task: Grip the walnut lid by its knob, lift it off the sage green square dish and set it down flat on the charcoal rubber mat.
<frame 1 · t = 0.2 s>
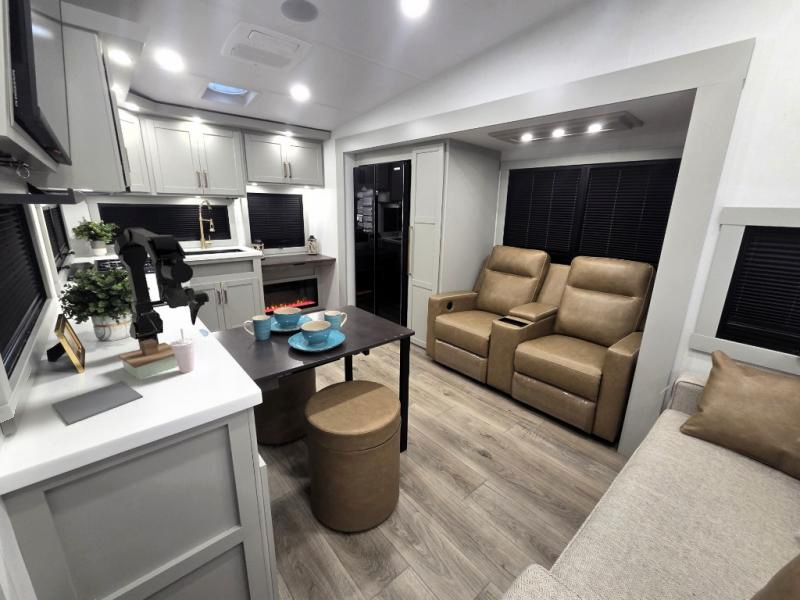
hand: (176, 328, 104), 14 cm above the counter, tool pointing down, fingers open, 9 cm apart
lid: (151, 355, 109), point 4 cm above the counter
smoothie: (187, 371, 107), on the counter
dish: (153, 368, 110), on the counter
mat: (98, 401, 90), on the counter
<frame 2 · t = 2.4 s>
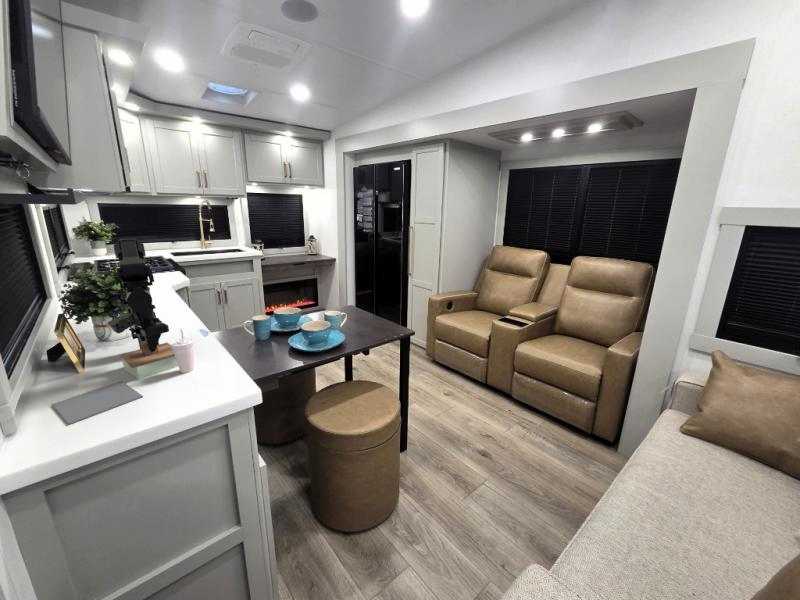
hand: (150, 350, 108), 6 cm above the counter, tool pointing down, fingers closed on lid, 4 cm apart
lid: (151, 355, 109), point 4 cm above the counter, touching dish, gripper
dish: (154, 368, 110), on the counter, touching lid
everything else where it was.
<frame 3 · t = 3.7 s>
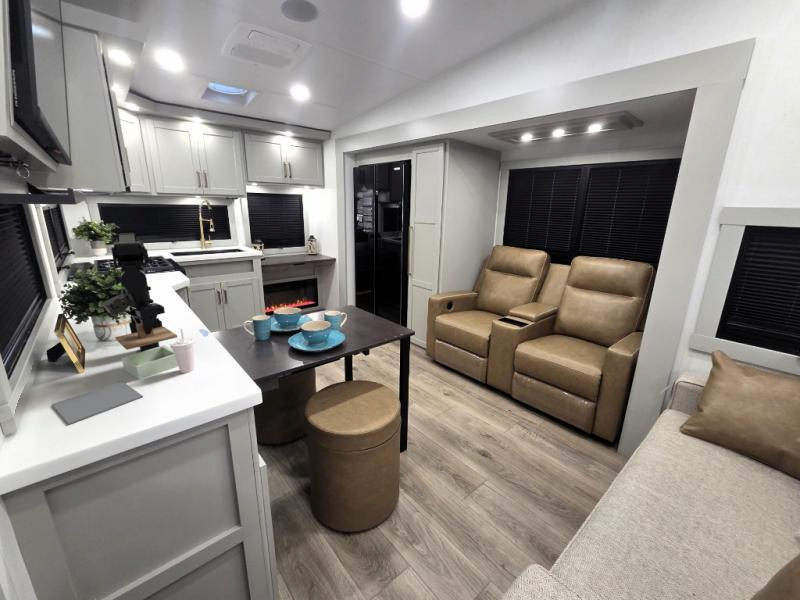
hand: (145, 332, 106), 12 cm above the counter, tool pointing down, fingers closed on lid, 4 cm apart
lid: (146, 338, 107), point 10 cm above the counter, touching gripper
dish: (153, 368, 110), on the counter
everything else where it was.
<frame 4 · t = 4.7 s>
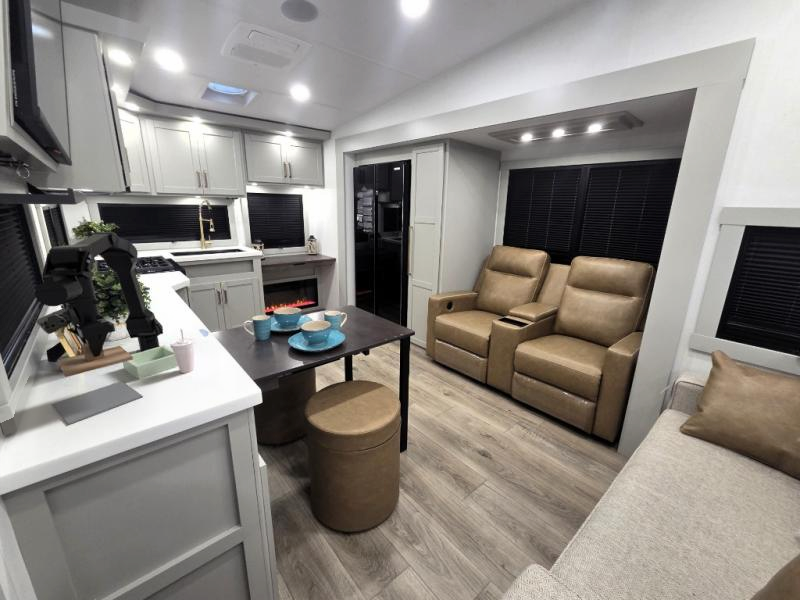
hand: (94, 354, 89), 13 cm above the counter, tool pointing down, fingers closed on lid, 4 cm apart
lid: (95, 361, 89), point 11 cm above the counter, touching gripper
everything else where it was.
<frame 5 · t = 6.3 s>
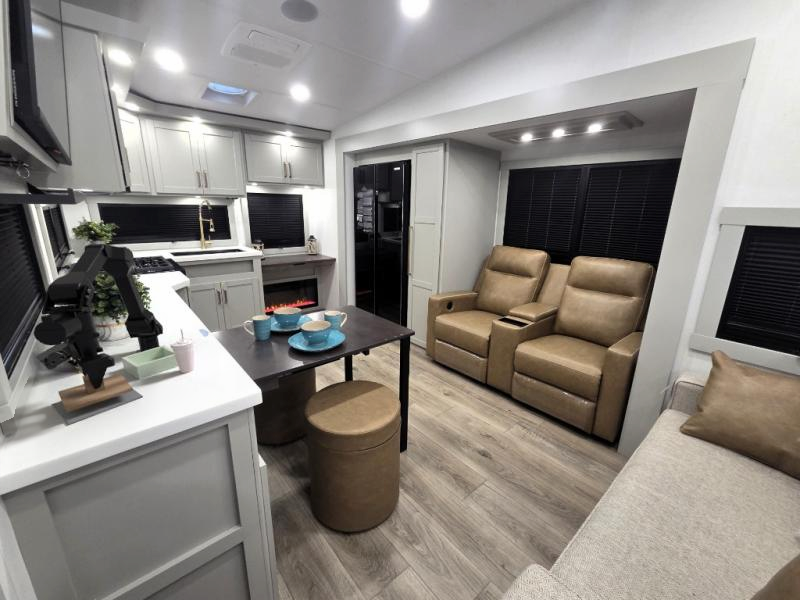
hand: (94, 386, 89), 4 cm above the counter, tool pointing down, fingers closed on lid, 4 cm apart
lid: (96, 392, 89), point 3 cm above the counter, touching gripper
everything else where it was.
when the fingers open (3 cm above the counter, at t = 7.2 s): lid drops 1 cm, resting on mat.
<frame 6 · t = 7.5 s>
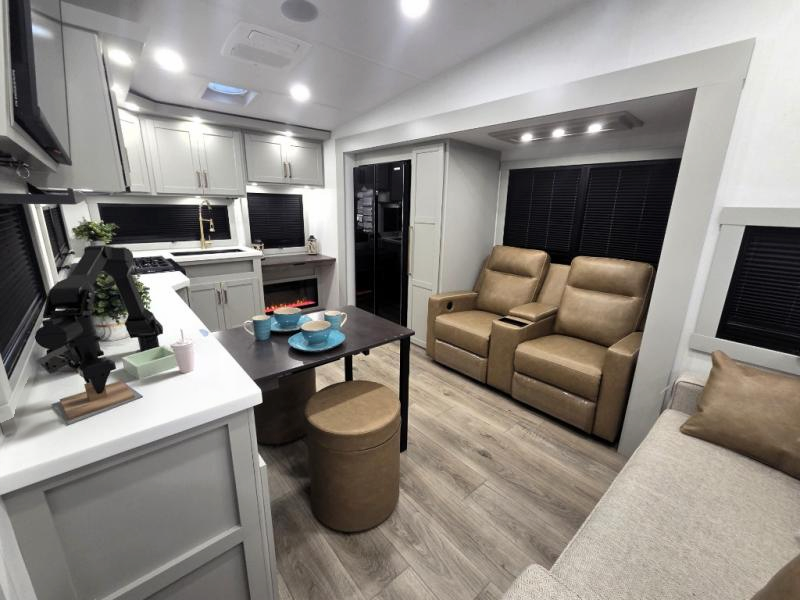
hand: (95, 389, 89), 3 cm above the counter, tool pointing down, fingers open, 6 cm apart
lid: (98, 399, 90), resting on mat
everything else where it was.
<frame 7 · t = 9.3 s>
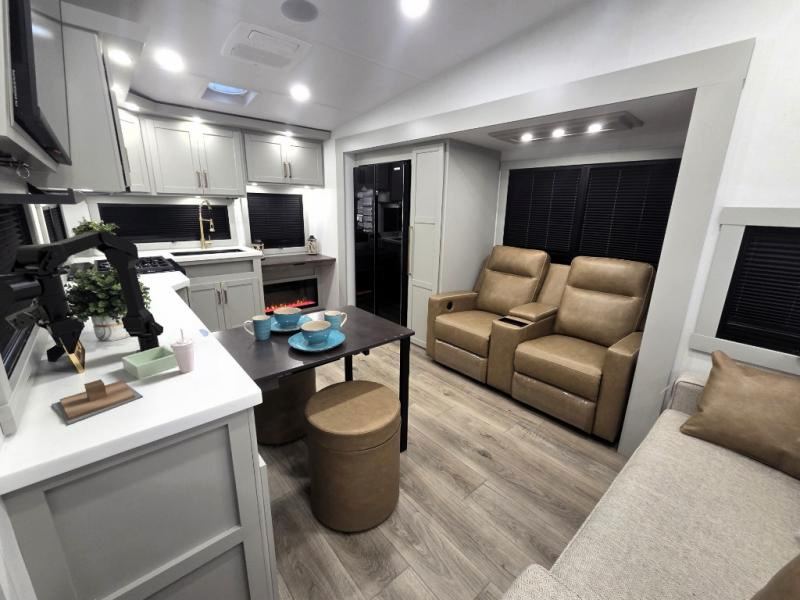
hand: (65, 350, 91), 13 cm above the counter, tool pointing down, fingers open, 9 cm apart
nothing on the counter moved.
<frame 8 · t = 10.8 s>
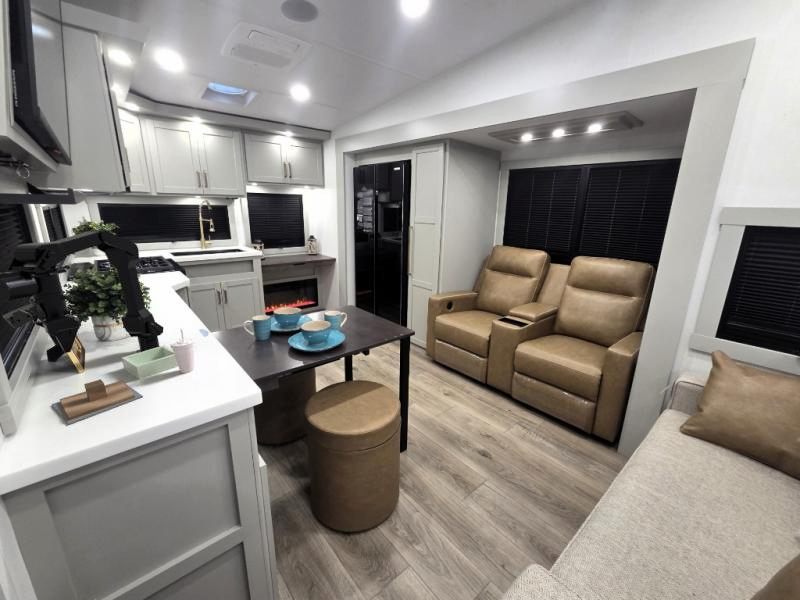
hand: (63, 348, 92), 13 cm above the counter, tool pointing down, fingers open, 9 cm apart
nothing on the counter moved.
at the end: lid inside the target area (0.0 cm from its centre), resting on mat; lid touching mat; lid tilted 0° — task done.
